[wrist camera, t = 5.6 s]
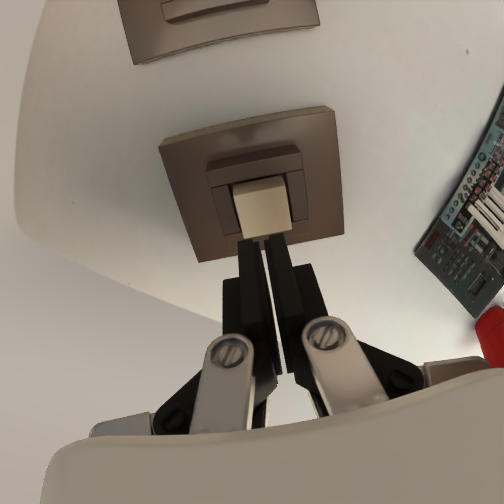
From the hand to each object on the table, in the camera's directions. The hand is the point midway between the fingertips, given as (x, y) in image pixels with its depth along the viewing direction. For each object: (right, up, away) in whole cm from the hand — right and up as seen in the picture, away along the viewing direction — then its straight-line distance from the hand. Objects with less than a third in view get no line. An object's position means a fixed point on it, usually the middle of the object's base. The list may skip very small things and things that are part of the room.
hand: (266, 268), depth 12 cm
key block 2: (0, +6, +12) cm, 13 cm away
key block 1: (-3, +19, +3) cm, 19 cm away
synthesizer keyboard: (+22, +9, +12) cm, 26 cm away
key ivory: (0, +4, +9) cm, 10 cm away
